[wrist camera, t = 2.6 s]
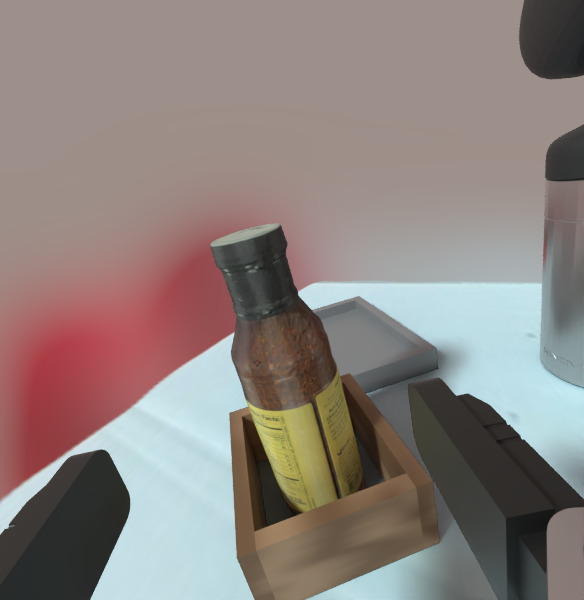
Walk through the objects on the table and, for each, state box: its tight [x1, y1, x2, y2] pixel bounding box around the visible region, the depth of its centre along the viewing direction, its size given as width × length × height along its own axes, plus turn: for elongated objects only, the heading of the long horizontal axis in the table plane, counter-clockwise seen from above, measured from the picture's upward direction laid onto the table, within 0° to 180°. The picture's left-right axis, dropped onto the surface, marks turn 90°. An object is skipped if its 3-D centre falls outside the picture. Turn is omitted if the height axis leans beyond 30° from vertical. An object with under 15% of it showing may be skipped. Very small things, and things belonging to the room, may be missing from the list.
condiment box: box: [229, 373, 440, 600], centre depth 24 cm, size 11×12×5 cm
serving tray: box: [312, 296, 438, 393], centre depth 42 cm, size 20×20×2 cm
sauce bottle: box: [210, 224, 365, 515], centre depth 21 cm, size 6×6×20 cm
